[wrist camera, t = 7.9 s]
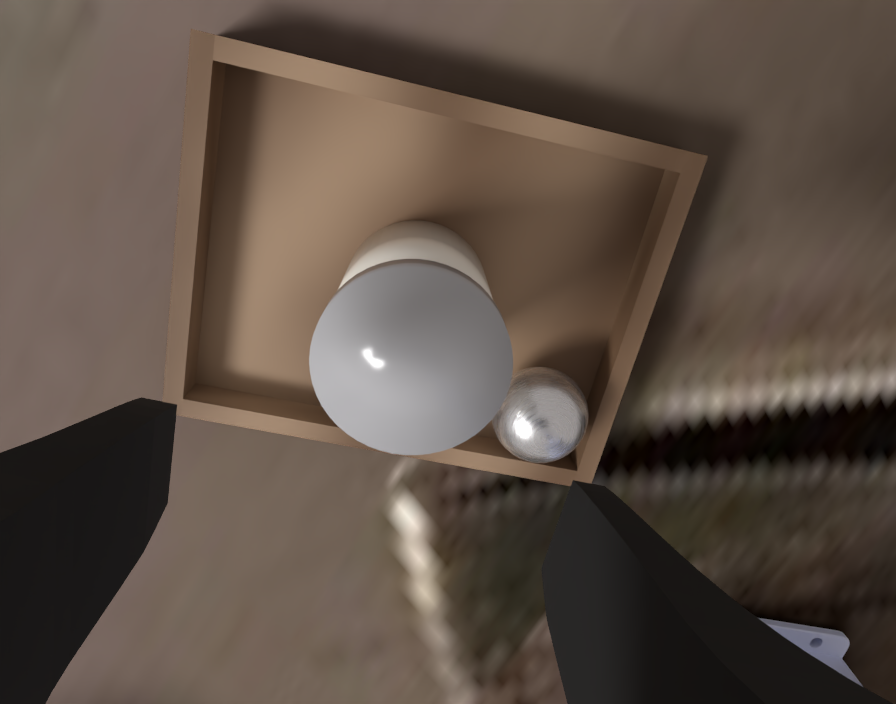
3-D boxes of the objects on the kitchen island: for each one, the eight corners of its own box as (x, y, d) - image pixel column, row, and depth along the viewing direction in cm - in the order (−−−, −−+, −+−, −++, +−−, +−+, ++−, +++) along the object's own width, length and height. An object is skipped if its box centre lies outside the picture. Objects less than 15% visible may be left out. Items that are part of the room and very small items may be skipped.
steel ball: (588, 362, 21) (612, 402, 18) (562, 440, 22) (581, 489, 20) (499, 344, 21) (511, 382, 18) (477, 424, 22) (485, 472, 19)
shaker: (506, 235, 20) (536, 292, 14) (470, 371, 21) (485, 470, 16) (355, 202, 19) (326, 246, 14) (331, 343, 21) (295, 435, 15)
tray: (681, 150, 20) (708, 156, 18) (576, 458, 24) (589, 489, 22) (214, 35, 18) (190, 28, 16) (183, 386, 22) (161, 412, 20)
